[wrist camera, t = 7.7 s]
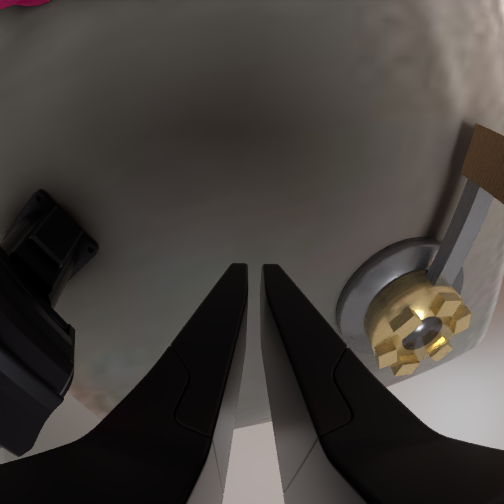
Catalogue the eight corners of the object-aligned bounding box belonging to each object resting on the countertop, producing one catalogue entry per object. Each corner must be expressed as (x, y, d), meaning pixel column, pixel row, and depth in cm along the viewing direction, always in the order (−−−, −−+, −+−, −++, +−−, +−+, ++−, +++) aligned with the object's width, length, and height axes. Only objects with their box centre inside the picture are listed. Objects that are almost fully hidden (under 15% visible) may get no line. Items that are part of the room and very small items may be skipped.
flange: (364, 359, 33) (368, 370, 31) (311, 293, 26) (316, 306, 25) (462, 297, 29) (469, 307, 28) (441, 210, 23) (451, 219, 22)
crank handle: (421, 340, 29) (468, 434, 20) (349, 345, 28) (390, 461, 18) (516, 146, 18) (625, 220, 8) (444, 108, 16) (594, 185, 6)
